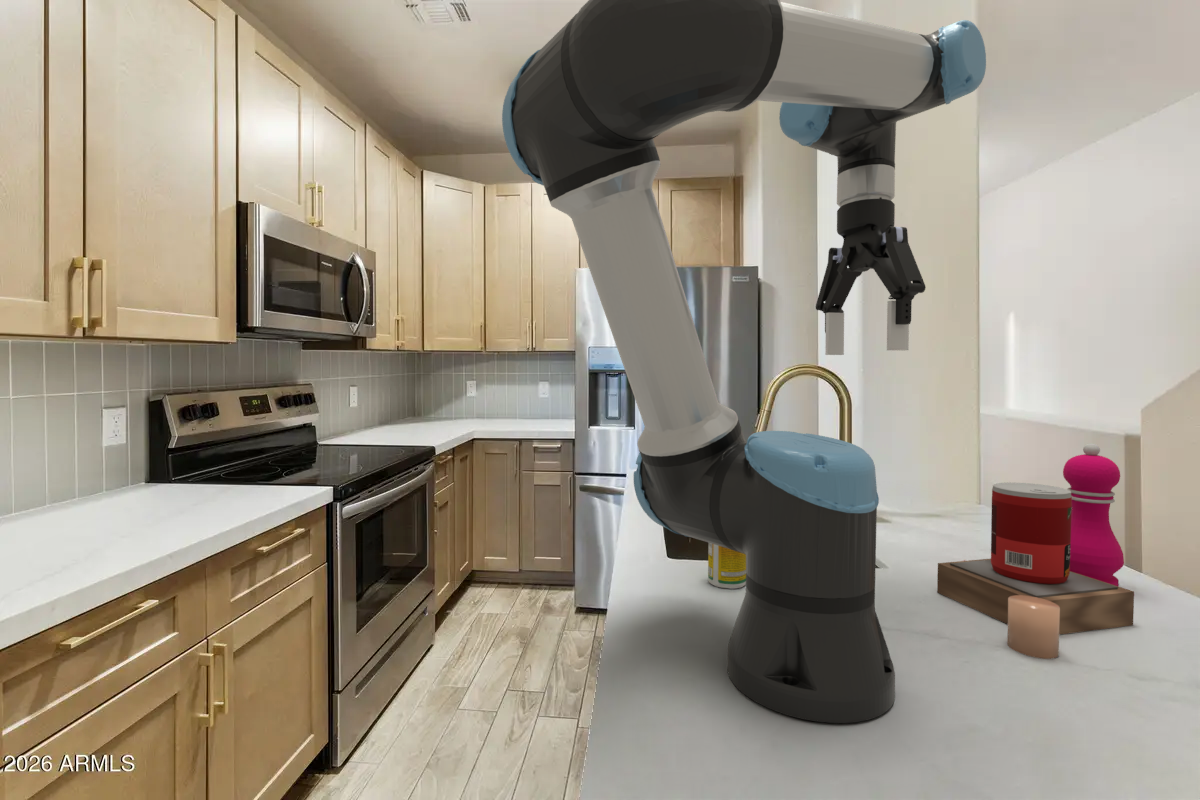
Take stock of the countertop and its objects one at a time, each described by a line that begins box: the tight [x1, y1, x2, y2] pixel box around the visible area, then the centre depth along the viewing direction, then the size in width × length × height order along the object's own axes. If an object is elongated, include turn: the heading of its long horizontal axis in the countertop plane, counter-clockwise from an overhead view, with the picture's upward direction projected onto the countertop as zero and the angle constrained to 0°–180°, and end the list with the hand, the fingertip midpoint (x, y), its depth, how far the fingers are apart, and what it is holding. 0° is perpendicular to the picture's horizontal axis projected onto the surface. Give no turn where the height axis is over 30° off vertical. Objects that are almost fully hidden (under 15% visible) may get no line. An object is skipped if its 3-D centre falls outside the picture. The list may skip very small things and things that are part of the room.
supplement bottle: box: [707, 542, 746, 590], centre depth 81 cm, size 5×5×10 cm
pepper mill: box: [1062, 443, 1125, 587], centre depth 79 cm, size 7×7×20 cm
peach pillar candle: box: [1006, 595, 1060, 660], centre depth 61 cm, size 4×4×5 cm
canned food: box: [990, 482, 1072, 584], centre depth 72 cm, size 8×8×11 cm
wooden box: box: [936, 558, 1135, 636], centre depth 72 cm, size 14×14×4 cm
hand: (863, 353), depth 83 cm, fingers open, 13 cm apart
